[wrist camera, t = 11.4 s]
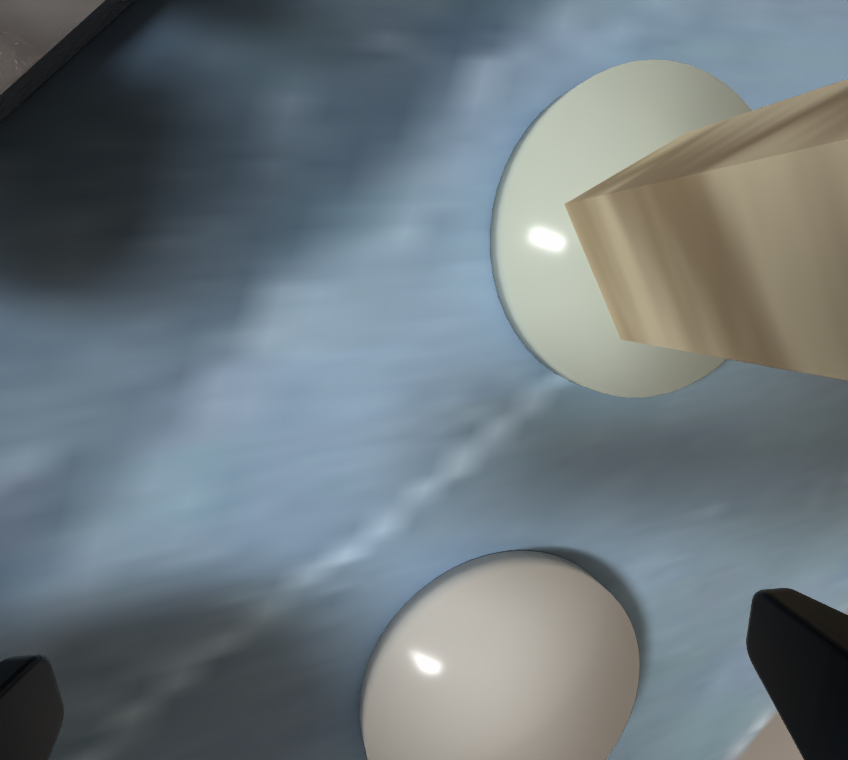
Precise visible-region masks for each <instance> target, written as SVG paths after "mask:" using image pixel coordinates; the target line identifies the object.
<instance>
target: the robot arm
mask: <svg viewBox="0 0 848 760" xmlns="http://www.w3.org/2000/svg"><path fill="white" fill-rule="evenodd" d="M746 645H747V651H748V655H749V658H750V660H751V662H752V664H753V666H754V668H755V670H756V672H757V674H758V675H759V677H760V679H761V681H762V683H763V685H764V687H765V688H766V690H767V692H768V694H769V696H770V698H771V700H772V701H773V703H774V705H775V707H776V709H777V711H778V712H779V714H780V716H781V718H782V720H783V722H784V724H785V725H786V727H787V729H788V731H789V733H790V734H791V736H792V738H793V740H794V742H795V744H796V745H797V748H798V749H799V751H800V753H801V755H802V757H803V759H804V760H848V615H846V614H844V613H842V612H840V611H838V610H836V609H833V608H831V607H829V606H827V605H825V604H823V603H821V602H819V601H816V600H814V599H812V598H810V597H808V596H806V595H804V594H801V593H799V592H797V591H795V590H793V589H789V588H777V589H766V590H760V591H758V592H756V593H755V595H754V596H753V599H752V604H751V611H750V618H749V625H748V632H747V638H746ZM63 714H64V710H63V702H62V699H61V696H60V693H59V690H58V686H57V683H56V680H55V677H54V674H53V671H52V667H51V664H50V662H49V660H48V659H47V658H46V657H45V656H42V655H28V656H17V657H11V658H7V659H5V660H3V661H1V662H0V760H48V759H49V756H50V754H51V751H52V749H53V746H54V744H55V741H56V739H57V736H58V734H59V731H60V728H61V725H62V721H63Z"/></svg>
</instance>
